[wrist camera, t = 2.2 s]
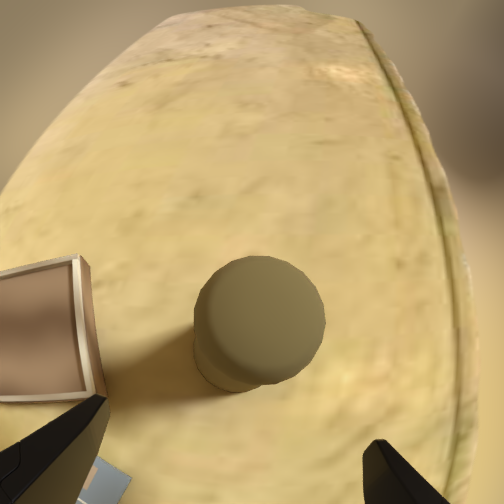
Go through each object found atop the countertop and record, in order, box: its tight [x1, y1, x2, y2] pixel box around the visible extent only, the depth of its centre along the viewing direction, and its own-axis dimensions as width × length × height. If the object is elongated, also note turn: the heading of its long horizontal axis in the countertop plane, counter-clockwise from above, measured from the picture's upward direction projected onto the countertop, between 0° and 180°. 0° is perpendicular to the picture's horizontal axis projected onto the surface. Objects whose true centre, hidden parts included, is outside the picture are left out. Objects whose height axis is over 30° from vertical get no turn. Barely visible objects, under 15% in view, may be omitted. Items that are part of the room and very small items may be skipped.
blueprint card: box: [76, 456, 132, 504], centre depth 12 cm, size 10×7×1 cm
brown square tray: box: [0, 254, 108, 403], centre depth 17 cm, size 10×10×3 cm
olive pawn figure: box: [194, 256, 326, 392], centre depth 15 cm, size 6×6×11 cm
